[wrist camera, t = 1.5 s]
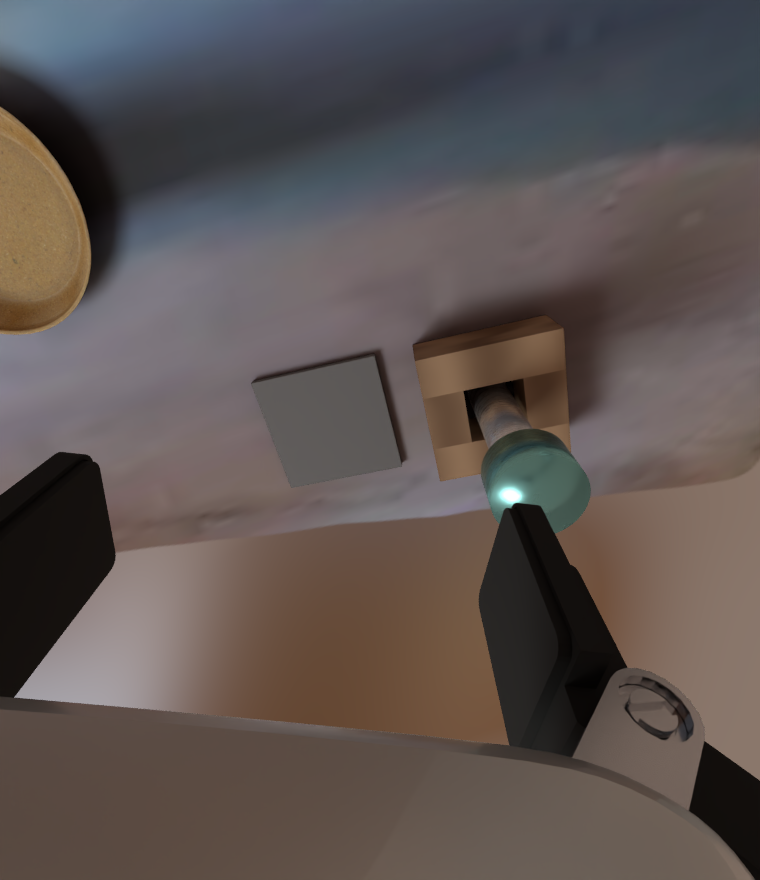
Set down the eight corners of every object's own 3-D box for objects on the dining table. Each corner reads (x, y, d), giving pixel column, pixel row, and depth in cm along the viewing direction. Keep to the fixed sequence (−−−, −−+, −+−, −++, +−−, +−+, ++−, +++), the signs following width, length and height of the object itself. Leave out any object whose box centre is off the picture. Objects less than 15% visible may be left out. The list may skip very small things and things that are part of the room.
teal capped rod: (515, 354, 36) (589, 446, 22) (521, 412, 38) (592, 528, 24) (450, 368, 36) (484, 466, 23) (460, 424, 38) (496, 544, 25)
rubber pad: (374, 353, 36) (374, 355, 35) (401, 462, 40) (401, 466, 40) (253, 381, 37) (251, 383, 36) (292, 484, 41) (291, 487, 41)
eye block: (545, 314, 34) (563, 328, 31) (554, 433, 38) (571, 457, 35) (412, 344, 35) (414, 361, 32) (435, 456, 40) (440, 481, 36)
